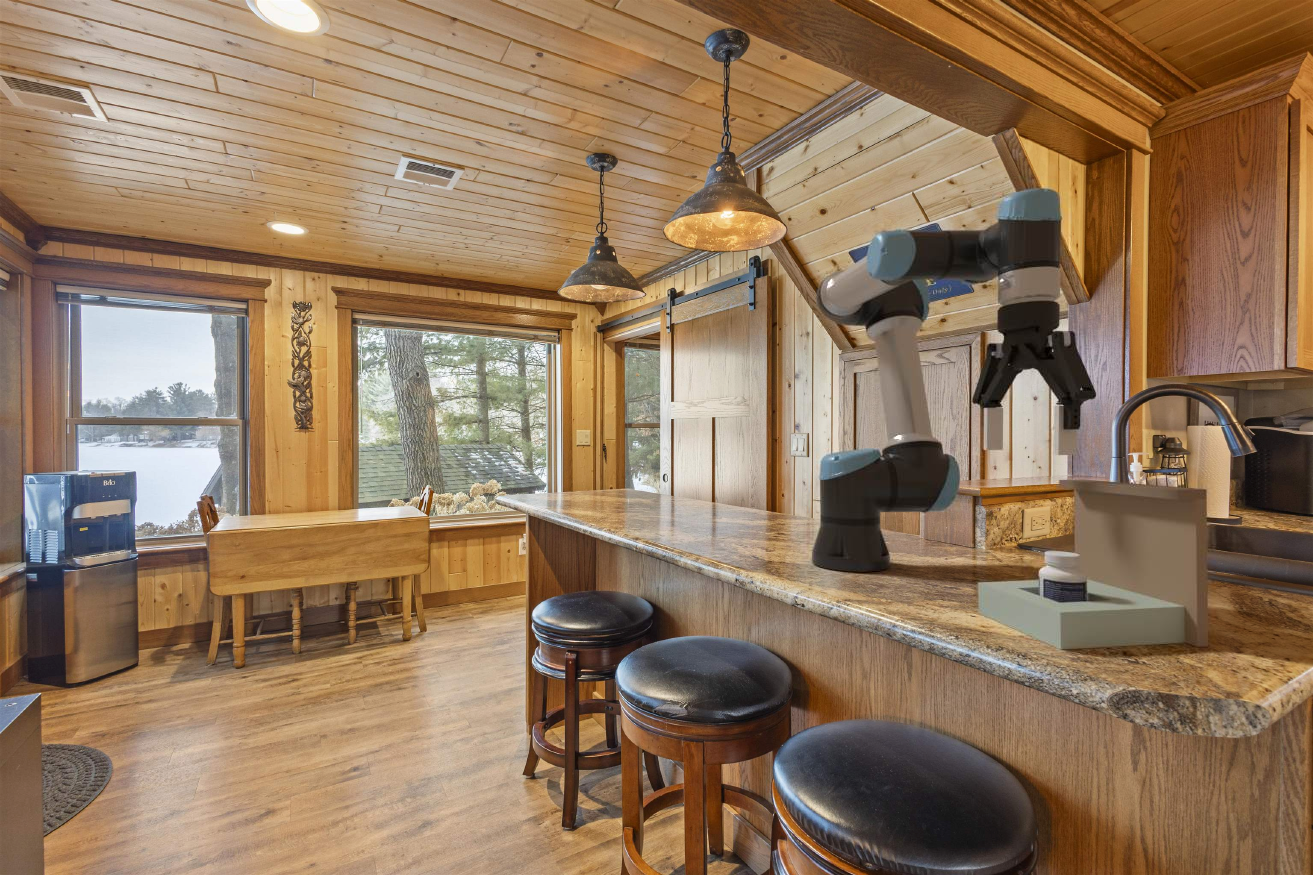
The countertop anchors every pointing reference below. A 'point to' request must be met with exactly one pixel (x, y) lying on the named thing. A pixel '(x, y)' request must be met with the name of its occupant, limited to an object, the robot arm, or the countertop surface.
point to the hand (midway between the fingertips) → (1026, 452)
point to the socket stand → (1121, 572)
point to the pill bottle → (1062, 578)
